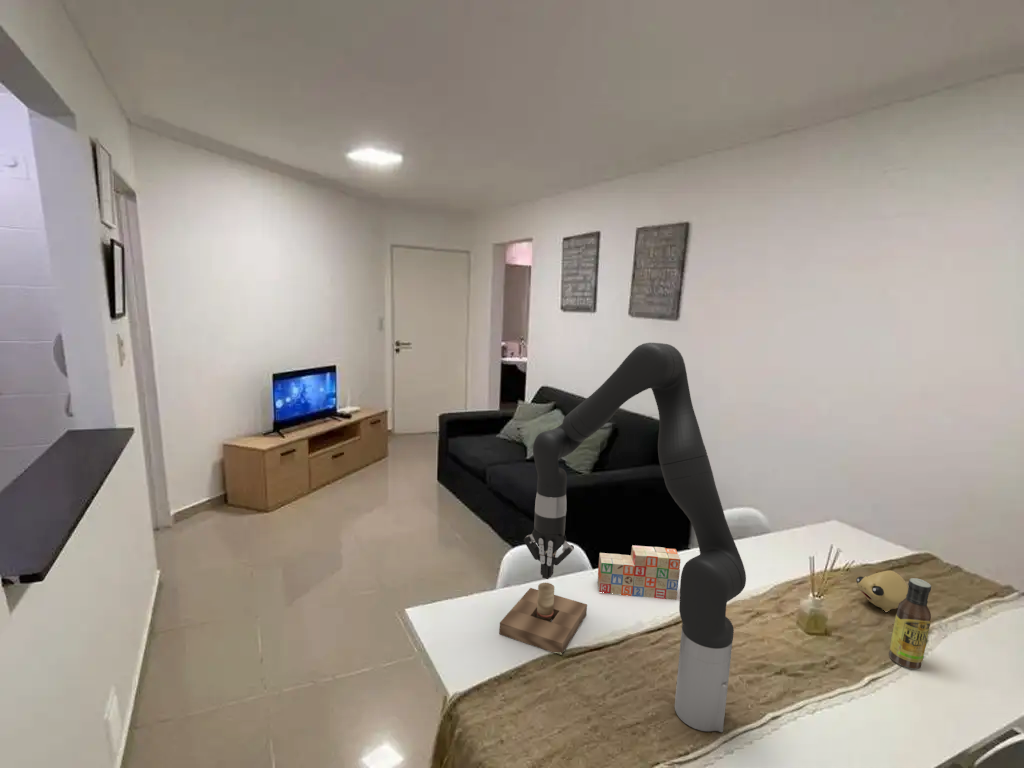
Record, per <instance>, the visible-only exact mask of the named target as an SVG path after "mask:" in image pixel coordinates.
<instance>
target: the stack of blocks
mask: <svg viewBox="0 0 1024 768" xmlns="http://www.w3.org/2000/svg"><path fill="white" fill-rule="evenodd" d="M630 551H631V552H630V555H629V554H620V553H608V552H607V553H605V552H599V554H598V555H599V557H598V565H597V566H598V569H597V570H598V571H597V572H598V573H597V586H598V587H599V588H598V593H599V592H602V593H601V594H607V593H611V594H610V595H615V594H621V595H620V596H626V595H628V597H639V598H649V599H652V598H653V599H658V600H659V599H660V600H670V601H671V600H673V601H677V598H678V589H679V581H680V572H681V569H680V568H681V557H680V555H679V553H678V551H677V549H676V548H666V547H661V546H645V545H633V544H632V546H631V550H630ZM603 592H604V593H603ZM612 593H613V594H612Z"/></svg>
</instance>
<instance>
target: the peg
mask: <svg viewBox="0 0 1024 768" xmlns="http://www.w3.org/2000/svg"><path fill="white" fill-rule="evenodd" d="M537 590H538V603H537V618H539V619H542V620H545V621H548V622H552V621H553V620H552V619H553V607H554V595H555V586H554V584H553V583H550V582H540V583H539V584H538V588H537Z"/></svg>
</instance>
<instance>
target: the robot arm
mask: <svg viewBox="0 0 1024 768" xmlns="http://www.w3.org/2000/svg"><path fill="white" fill-rule="evenodd" d="M688 380H689V379H688V373H687V368H686V363H685V360H684V357H683V355H682V353H681V352H680V351H679V350H678V348H676V347H675V346H673V345H671V344H667V343H661V342H645V343H642V344H640V345H638V346H637V347H635V348H634V349H633V350H632V351H631V352H630V353H629V354H628V356H626V357H625V359H624V360H623V361H622V362H621V363H620V365H619V366H618V367H617V368H616V370H614V372H613V373H612V374H610V376H609V377H608V378H607V379H606V380H605V381H604V382H603V383H602V385H600V386H599V387H598V388H596V390H595V391H594V392H593V393H592V394H590V396H588V397H587V398H586V399H584V400H583V401H582V402H580V403H579V404H578V405H577V406H576V407H574V408H573V409H572V410H570V412H568V414H566V416H564V418H563V419H562V423H561V424H560V425H558V426H557V427H555V428H553V429H549V430H545V431H542V432H540V433H538V434H537V436H536V437H535V439H534V441H533V445H532V452H533V459H534V465H535V469H536V474H537V482H536V483H537V484H536V495H535V496H536V497H535V502H534V504H535V505H534V521H533V522H534V523H533V524H534V525H533V530H532V532H531V534H528V535H526V536H525V537H524V538H523V542H524V544H525V546H526V547H527V548H528V551H529V552H530V554H531V556H532V557H533V559H534V560H535V561H536V560H537V561H539V562H540V575H541V576H542V578H543V579H544V580H549V579H551V577H552V576H553V575H554V570H555V569H554V567H555V566H559V564H560V563H562V562H563V560H564V559H566V558H567V557H568V556H569V555H570V554H571V553H572V552H573V551H574V550H575V547H574V545H573V544H570V543H568V542H567V537H566V533H565V531H566V517H567V511H568V510H567V484H568V475H567V472H566V470H565V469H563V468H562V467H559V466H560V465H559V459H561V458H564V457H567V456H569V455H570V454H572V453H573V452H574V451H576V450H577V449H578V447H580V445H582V444H583V442H584V441H585V440H586V439H588V438H589V437H591V436H592V435H594V434H595V433H597V431H599V430H601V428H603V427H604V426H605V425H606V424H607V423H608V422H609V421H611V419H612V418H613V417H614V415H615V414H616V412H617V411H618V410H619V408H621V406H622V405H624V404H625V403H626V402H628V401H629V400H630V399H632V398H633V397H635V396H636V395H639V394H641V393H642V392H645V391H647V390H649V389H651V391H652V394H653V396H654V400H655V404H656V407H657V411H658V417H659V419H658V421H659V424H658V425H659V428H658V435H657V436H658V439H657V453H658V455H657V456H658V462H659V466H660V469H661V472H662V477H663V479H664V483H665V484H664V485H665V487H666V489H667V491H668V493H669V494H670V496H671V498H672V499H673V500H674V502H675V503H676V504H677V506H678V507H679V509H681V510H682V511H683V513H684V514H685V516H686V517H687V518H688V520H689V521H690V524H691V525H692V526H691V527H692V528H693V530H694V534H695V537H696V540H697V541H696V542H697V544H698V549H699V555H697V556H694V557H692V558H690V559H688V561H687V562H685V564H684V566H683V568H682V570H681V575H680V580H679V581H680V584H679V585H680V586H679V604H678V605H679V606H678V609H679V616H680V618H681V632H680V633H681V634H680V643H679V655H678V665H677V667H678V668H677V677H676V687H675V688H676V689H675V695H674V697H675V698H674V712H675V713H676V715H677V717H678V718H679V719H680V720H681V721H682V722H683V723H684V724H685V725H687V726H689V727H690V728H692V729H694V730H698V731H701V732H719V733H723V732H724V725H725V717H726V716H725V714H726V708H727V707H726V706H727V696H728V687H729V678H730V668H731V659H732V650H733V649H732V648H733V641H734V632H735V629H734V628H735V627H734V625H733V623H732V621H731V620H730V619H729V618H728V617H727V616H726V615H727V605H728V602H730V601H731V600H732V599H734V598H736V597H737V596H738V595H740V594H741V593H742V592H743V590H744V589H745V587H746V584H747V583H746V582H747V575H746V569H745V565H744V562H743V559H742V557H741V555H740V552H739V549H738V548H737V544H736V542H735V540H734V538H733V535H732V533H731V531H730V526H729V525H728V522H727V519H726V516H725V512H724V508H723V505H722V502H721V497H720V496H719V495H720V494H719V491H718V488H717V484H716V482H715V478H714V473H713V470H712V466H711V463H710V458H709V456H708V453H707V449H706V446H705V443H704V439H703V436H702V432H701V429H700V427H699V421H698V419H697V417H696V413H695V409H694V406H693V401H692V398H691V391H690V386H689V381H688ZM561 547H562V550H561V551H562V552H561V553H560V554H559V555H558V556H557V553H558V552H557V551H558V550H560V548H561Z"/></svg>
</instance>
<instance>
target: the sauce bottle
mask: <svg viewBox="0 0 1024 768" xmlns="http://www.w3.org/2000/svg"><path fill="white" fill-rule="evenodd" d="M907 586H908V593H907V595H906V598H905V599H904V600H903V601H901V602H900V603H899V605H898V608H897V611H896V613H895V619H894V623H893V628H892V633H891V637H890V638H891V639H890V644H889V652H888V655H889V657H890V659H891V660H892V661H893V662H894V663H895V664H896V663H897V664H898V665H900V666H902V667H904V668H907V669H911V670H915V669H920V668H922V667H921V666H922V662H923V661H924V657H925V656H924V655H925V651H926V646H927V641H928V637H929V631H930V627H931V619H932V613H931V611H930V609H929V607H928V600H929V595H930V593H931V591H932V585H931V584H930V583H929V582H927V580H923V579H920V578H917V577H916V578H914V577H911V578H909V579H908V583H907Z"/></svg>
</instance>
